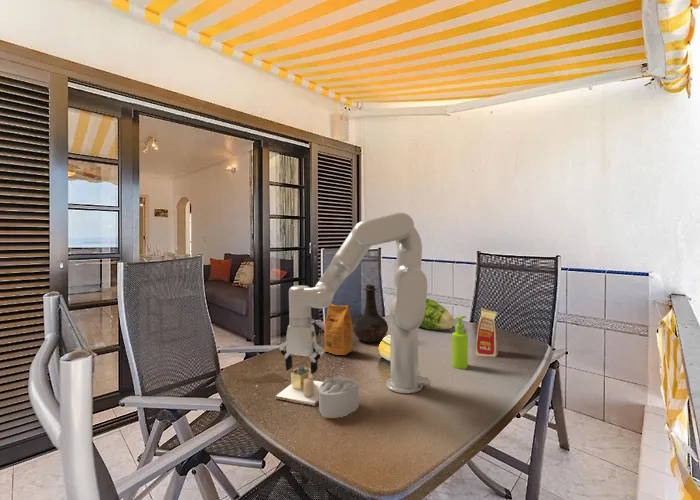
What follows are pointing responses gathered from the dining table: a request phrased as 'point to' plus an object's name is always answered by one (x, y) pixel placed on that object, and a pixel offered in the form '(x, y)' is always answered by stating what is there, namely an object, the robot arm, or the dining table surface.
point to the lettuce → (436, 316)
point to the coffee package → (338, 330)
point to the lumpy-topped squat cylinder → (338, 396)
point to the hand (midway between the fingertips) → (301, 370)
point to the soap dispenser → (459, 346)
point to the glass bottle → (370, 320)
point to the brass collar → (299, 378)
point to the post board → (307, 394)
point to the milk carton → (486, 334)
